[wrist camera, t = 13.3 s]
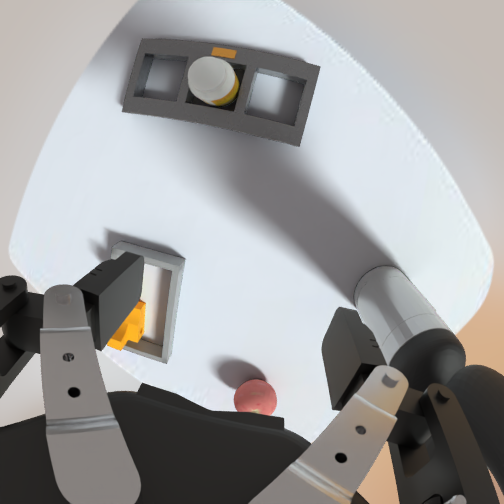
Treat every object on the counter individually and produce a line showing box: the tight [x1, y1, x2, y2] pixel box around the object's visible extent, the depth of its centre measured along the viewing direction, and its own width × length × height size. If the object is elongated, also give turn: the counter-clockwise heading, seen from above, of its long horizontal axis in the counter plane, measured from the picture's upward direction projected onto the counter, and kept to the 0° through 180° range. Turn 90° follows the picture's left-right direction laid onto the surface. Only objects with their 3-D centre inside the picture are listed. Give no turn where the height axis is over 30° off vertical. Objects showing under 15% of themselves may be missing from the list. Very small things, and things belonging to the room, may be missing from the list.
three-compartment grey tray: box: [122, 39, 320, 147], centre depth 34 cm, size 24×11×3 cm, turn 76°
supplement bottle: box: [188, 56, 240, 107], centre depth 31 cm, size 5×5×10 cm
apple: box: [234, 379, 277, 416], centre depth 48 cm, size 7×7×8 cm
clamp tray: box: [111, 241, 185, 364], centre depth 46 cm, size 11×19×3 cm, turn 166°
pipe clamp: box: [107, 301, 146, 351], centre depth 45 cm, size 12×4×6 cm, turn 167°
